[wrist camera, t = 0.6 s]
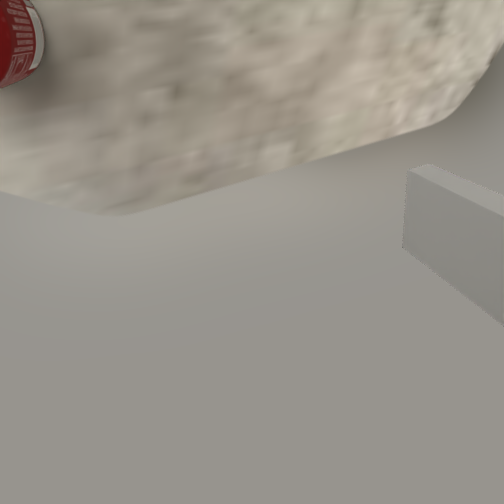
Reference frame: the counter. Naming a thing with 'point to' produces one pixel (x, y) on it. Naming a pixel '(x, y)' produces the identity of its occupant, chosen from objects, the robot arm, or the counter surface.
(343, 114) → the counter surface
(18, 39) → the soda can
